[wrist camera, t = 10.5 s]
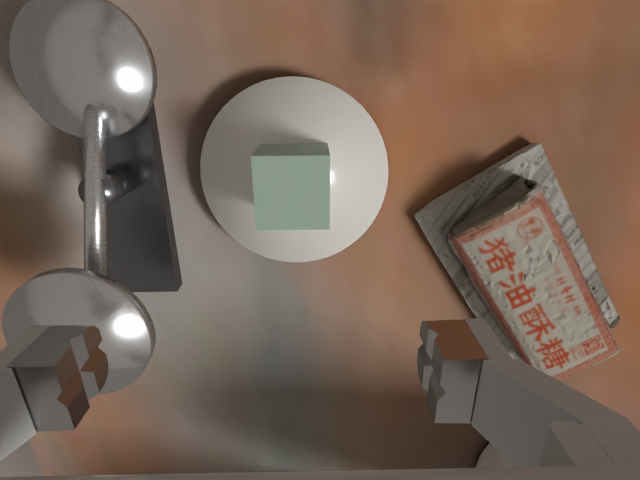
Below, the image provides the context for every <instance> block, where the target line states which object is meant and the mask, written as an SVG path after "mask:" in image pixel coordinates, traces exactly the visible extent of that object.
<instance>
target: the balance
mask: <svg viewBox="0 0 640 480" xmlns="http://www.w3.org/2000/svg"><path fill="white" fill-rule="evenodd" d="M9 57H10V63H11V68H12V71H13V74H14V77H15V80H16V82H17V84H18V86H19V88H20V90H21V92H22V94H23V95H24V97H25V98H26V100H27V101H28V102H29V104H30V105H31V106H32V107H33V108H34V110H35V111H36V112H37V113H38V114H39V115H40V116H41V117H43V118H44V119H45V120H46V121H47V122H49V123H50V124H52V125H53V126H54V127H56V128H58V129H60V130H61V131H64V132H66V133H68V134H70V135H73V136H77V139H78V143H79V147H80V152H81V156H82V160H83V164H84V179H83V180H82V181H81V182H80V184H79V187H78V192H79V196H80V198H81V200H82V201H83V202H84V269H79V268H60V269H54V270H49V271H46V272H43V273H41V274H39V275H37V276H35V277H33V278H32V279H30V280H29V281H28V282H26V283H25V284H23V285H22V286H21V287H19V288H18V289H17V290H16V291H15V292H14V293H13V294H12V295H11V296H10V298H9V299H8V301H7V303H6V305H5V308H4V311H3V316H2V327H3V333H4V337H5V340H6V342H7V344H10V343H11V342H12V341H13V340H14V339H15V338H16V337H18V336H19V335H20V334H21V333H22V332H23V331H24V330H26V329H27V328H28V327H32V326H43V325H52V326H55V325H80V326H95V327H97V328H98V329H99V331H100V334H101V337H102V341H101V343H100V345H99V348H100V349H101V350H102V351H103V352H104V353H105V354H106V355H107V359H108V375H107V379H106V383H105V385H104V386H103V388H102V390H101V391H100V393H98V394H104V393H109V392H113V391H116V390H119V389H121V388H124V387H126V386H127V385H129V384H131V383H132V382H133V381H134V380H136V379H137V378H138V377H139V376H140V374H141V373H142V372H143V370H144V369H145V367H146V365H147V364H148V362H149V360H150V358H151V356H152V354H153V351H154V347H155V329H154V325H153V322H152V319H151V317H150V315H149V313H148V311H147V309H146V308H145V306H144V305H143V304H142V302H141V301H140V300H139V299H138V298H137V297H136V296H135V295H134V294H133V293H132V292H163V291H178V290H179V288H180V286H181V285H182V280H181V274H180V267H179V261H178V255H177V248H176V242H175V236H174V229H173V223H172V217H171V210H170V204H169V198H168V191H167V185H166V178H165V172H164V166H163V159H162V153H161V147H160V140H159V134H158V128H157V121H156V115H155V109H154V102H153V101H154V98H155V94H156V88H157V72H156V65H155V61H154V57H153V54H152V51H151V48H150V46H149V44H148V42H147V40H146V38H145V36H144V35H143V33H142V31H141V30H140V29H139V27H138V26H137V25H136V23H135V22H134V21H133V20H132V19H131V18H130V17H129V16H128V15H127V14H126V13H125V12H124V11H123V10H121V9H120V8H119V7H117V6H116V5H114V4H113V3H111V2H110V1H108V0H29V1H28V2H27V3H26V4H25V5H24V6H23V7H22V8H21V10H20V11H19V12H18V14H17V16H16V18H15V20H14V22H13V25H12V28H11V32H10V38H9ZM107 267H108V272H109V276H110V277H108V276H107Z"/></svg>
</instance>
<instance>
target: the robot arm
mask: <svg viewBox="0 0 640 480" xmlns="http://www.w3.org/2000/svg"><path fill="white" fill-rule="evenodd" d="M420 337H421V340H422V342H423V344H422V346H421V347H420V348H419V349H418V356H417V366H418V374H419V379H420V382H421V385H422V388H424V389H425V390H426V391H428V395H427V403H428V406H429V409H430V411H431V414H432V417H433V420H434V423H471V426H473V427H474V428H475V429H476V430H477V431H478V432H479V433H480V434H481V435H482V436H483V437H484V438H485V439H486V440H488V441H489V442H490V443H491V444H492V445H493V446H494V447H495V448H496V449H497V450H498V451H499V452H500V453H501V454H503V455H504V456H505V457H506V458H507V459H508V460H509V461H510V462H511V463H512V464H513V465H514V466H515V467H483V468H441V469H390V470H334V471H278V472H229V473H181V474H133V475H83V476H35V477H34V476H32V477H0V480H640V432H639V431H638V429H637V428H636V427H635V426H634V425H633V424H632V423H631V422H630V421H629V420H628V418H626V417H624V416H622V415H620V414H618V413H617V412H615V411H613V410H611V409H609V408H607V407H606V406H604V405H602V404H600V403H598V402H597V401H595V400H593V399H591V398H589V397H587V396H586V395H584V394H582V393H580V392H578V391H576V390H575V389H573V388H571V387H569V386H567V385H565V384H564V383H562V382H560V381H558V380H556V379H554V378H553V377H551V376H549V375H547V374H545V373H543V372H542V371H540V370H538V369H536V368H534V367H533V366H531V365H529V364H527V363H525V362H523V361H522V360H520V359H512V357H511V356H510V354H509V353H508V352H507V350H506V349H505V347H504V346H503V344H502V343H501V342H500V340H499V339H498V337H497V336H496V335H495V333H494V332H493V330H492V329H491V328H490V326H489V325H488V323H487V322H486V321H485V320H484V319H482V318H477V319H462V320H435V321H422V323H421V327H420ZM101 341H102V337H101V334H100V331H99V329H98V328H97V327H95V326H80V325H55V326H52V325H43V326H32V327H28V328H27V329H26V330H24V331H23V332H22V333H21V334H20V335H19V336H18V337H16V338H15V339H14V340H13V341H12V342H11V343H10V344H8V345H7V346H6V347H5V348H4V349H3V350H2V351H0V460H2V459H3V458H5V457H6V456H7V455H9V454H10V453H11V452H13V451H14V450H15V449H16V448H18V447H19V446H21V445H22V444H23V443H25V442H26V441H27V440H29V439H30V438H31V437H33V436H34V435H35V434H36V433H37V432H36V431H57V430H75V428H76V427H77V425H78V424H79V422H80V421H81V419H82V418H83V416H84V415H85V413H86V412H87V411H88V409H89V408H90V406H89V402H88V400H89V399H91V398H92V397H94V396H95V395H97V394H98V393H100V391H101V390H102V388H103V386H104V385H105V383H106V379H107V375H108V359H107V355H106V354H105V353H104V352H103V351H102V350H101V349H100V348H99V345H100V343H101Z"/></svg>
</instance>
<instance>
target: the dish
mask: <svg viewBox="0 0 640 480" xmlns="http://www.w3.org/2000/svg"><path fill="white" fill-rule="evenodd" d="M309 143H328V148H329V152H330V230H256V224H255V209H254V195H253V181H252V166H251V155H252V154H253V153H254V151H255V150H256V149H257V148H258V146H259V145H260V144H309ZM200 173H201V182H202V187H203V192H204V195H205V198H206V201H207V203H208V205H209V208H210V210H211V212H212V214H213V215H214V217H215V218H216V220H217V221H218V223H219V224H220V225H221V227H222V228H223V229H224V230H225V231H226V232H227V233H228V234H229V235H230V236H231V237H232V238H233V239H234V240H235V241H237V242H238V243H239V244H241V245H242V246H243V247H245V248H247V249H249V250H250V251H252V252H254V253H256V254H259V255H261V256H263V257H267V258H270V259H273V260H278V261H284V262H309V261H314V260H319V259H322V258H326V257H329V256H331V255H334V254H336V253H338V252H340V251H342V250H343V249H345V248H347V247H348V246H350V245H351V244H352V243H354V242H355V241H356V240H357V239H359V238H360V237H361V236H362V235H363V234H364V232H365V231H366V230H367V229H368V228H369V226H370V225H371V224H372V222H373V221H374V219H375V218H376V216H377V214H378V212H379V211H380V208H381V206H382V203H383V201H384V197H385V193H386V189H387V183H388V160H387V153H386V149H385V145H384V142H383V139H382V137H381V134H380V132H379V130H378V128H377V126H376V124H375V123H374V121H373V119H372V118H371V116H370V115H369V114H368V113H367V111H366V110H365V109H364V108H363V107H362V106H361V105H360V104H359V103H358V102H357V101H356V100H355V99H354V98H352V97H351V96H350V95H348V94H347V93H345V92H344V91H343V90H341V89H339V88H337V87H335V86H333V85H331V84H328V83H326V82H323V81H320V80H317V79H312V78H307V77H295V76H289V77H277V78H273V79H269V80H264V81H262V82H259V83H257V84H254V85H252V86H250V87H248V88H246V89H245V90H243V91H241V92H240V93H238V94H237V95H236V96H234V97H233V98H232V99H231V100H230V101H229V102H228V103H227V104H226V105H225V106H224V107H223V108H222V109H221V110H220V112H219V113H218V114H217V116H216V117H215V118H214V120H213V122H212V124H211V126H210V127H209V129H208V132H207V134H206V137H205V140H204V143H203V148H202V152H201V162H200Z"/></svg>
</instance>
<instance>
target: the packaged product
mask: <svg viewBox="0 0 640 480" xmlns="http://www.w3.org/2000/svg"><path fill="white" fill-rule="evenodd" d="M414 217H415V219H416V220H417V222H418V224H419V225H420V227H421V229H422V231H423V232H424V234H425V236H426V238H427V239H428V241H429V243H430V245H431V246H432V248H433V250H434V252H435V253H436V255H437V257H438V258H439V260H440V261H441V263H442V264H443V266H444V267H445V269H446V270H447V272H448V273H449V275H450V276H451V278H452V280H453V281H454V283H455V284H456V286H457V287H458V289H459V290H460V292H461V294H462V295H463V297H464V299H465V301H466V302H467V304H468V306H469V308H470V309H471V311H472V312H473V313H474V315H475V317H476V319H477V318H482V319H484V320H485V321H486V322H487V323H488V325H489V326H490V328H491V329H492V330H493V332H494V333H495V335H496V336H497V337H498V339H499V340H500V342H501V343H502V344H503V346H504V347H505V349H506V350H507V352H508V353H509V354H510V356H511V357H512V359H520V360H522V361H523V362H525V363H527V364H529V365H531V366H533V367H534V368H536V369H538V370H540V371H542V372H543V373H545V374H547V375H549V376H551V377H553V378H554V379H556V380H559V381H560V380H565V379H567V378H568V376H570V375H573V374H577V373H578V372H579V371H581V370H583V369H586V368H588V367H592V366H594V365H596V364H598V363H600V362H602V361H604V360H606V359H608V358H610V357H612V356H614V355H616V354H617V353H619V351H620V350H619V349H618V347H617V344H616V341H614V339H613V334H612V333H611V331H610V328H614V327H615V325H616V324H617V323H618V322H619V320H620V317H619V316H618V314H617V312H616V310H615V307H614V306H613V304H612V301H611V299H610V296H609V294H608V292H607V290H606V288H605V286H604V284H603V281H602V279H601V277H600V275H599V273H598V270H597V268H596V266H595V264H594V262H593V260H592V257H591V254H590V251H589V249H588V247H587V245H586V244H585V242H584V239H583V236H582V234H581V232H580V230H579V228H578V226H577V224H576V222H575V219H574V217H573V215H572V213H571V211H570V209H569V207H568V204H567V201H566V199H565V196H564V194H563V192H562V190H561V188H560V186H559V184H558V181H557V178H556V176H555V174H554V172H553V170H552V167H551V165H550V163H549V162H548V160H547V157H546V155H545V153H544V150H543V147H542V145H541V144H540V143H531V144H529V145H526V146H524V147H523V148H521V149H519V150H518V151H516V152H514V153H512V154H511V155H509V156H507V157H506V158H504V159H502V160H501V161H499V162H497V163H496V164H494V165H492V166H491V167H489V168H488V169H486V170H484V171H482V172H481V173H479V174H477V175H475V176H474V177H472V178H470V179H468V180H467V181H465V182H463V183H461V184H460V185H458V186H456V187H454V188H453V189H451V190H449V191H448V192H446V193H444V194H442V195H441V196H439V197H437V198H436V199H434V200H433V201H431V202H430V203H428V204H427V205H426V206H424V207H423V208H422V209H420V210H419V211H418V212H416V213H415V214H414Z"/></svg>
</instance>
